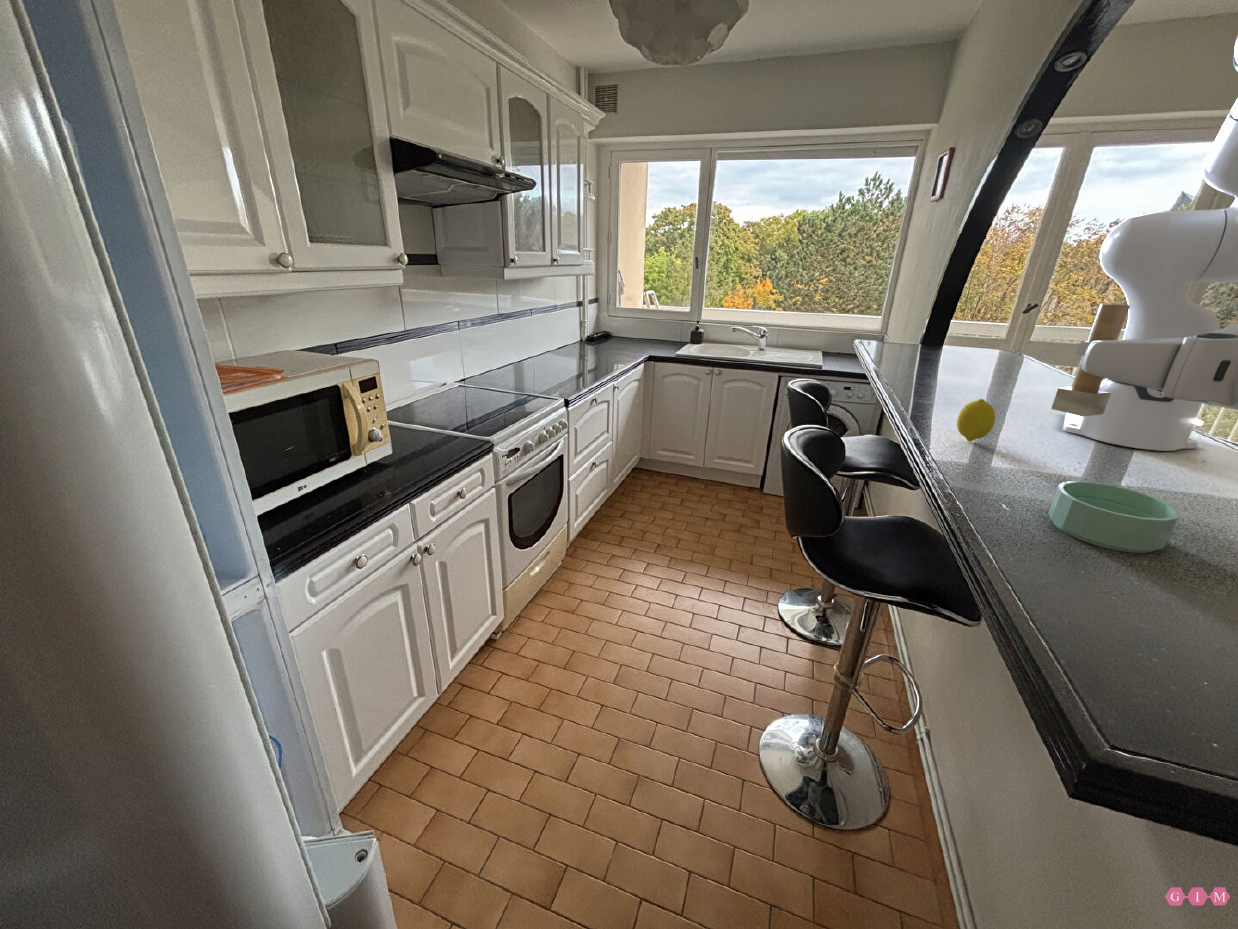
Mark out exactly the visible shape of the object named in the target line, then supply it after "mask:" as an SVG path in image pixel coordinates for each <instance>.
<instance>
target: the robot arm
mask: <svg viewBox="0 0 1238 929" xmlns="http://www.w3.org/2000/svg"><path fill="white" fill-rule="evenodd" d="M1232 60H1233V61H1232V63H1233V67H1234V68H1235V70H1236V71H1237V72H1238V35H1237V36H1236V40H1235V44H1234V52H1233V58H1232ZM1201 174H1202V177H1203V180H1204V181H1205V182H1206V183H1207V185H1209V186H1211V187H1212V188H1213V189H1215V190H1217V191H1220V192H1222V193H1224V194H1226V195H1229V196H1232V197H1234V198H1235V199H1234V201H1233V203H1232V204H1231V205H1230V206H1229V207H1226V208H1221V209H1196V210H1195V209H1193V210H1192V209H1191V210H1190V209H1189V210H1188V209H1187V210H1163V211H1157V212H1150V213H1145V214H1141V215H1135V216H1129V217H1127V218H1125V219H1123V221H1121V222H1120V223H1118V224H1117V225H1116V226H1115V227H1114V228H1113V229H1112V230H1111V231H1110V232H1109V233H1108V235H1107V236H1106V238H1104V241H1103V242H1102V245H1101V248H1100V251H1099V262H1100V266H1101V268H1102V270H1103V271H1104V272H1105V273H1106V274H1107V276H1108V277H1110V278H1112V279H1113V281H1114V282H1116V283H1117V284H1118V286H1119V287H1120V288H1121V290H1122V292H1123V294H1124V296H1125V298H1126V302H1127V305H1130V308H1129V311H1128V315H1127V323H1126V327H1125V330H1124V335H1123V338H1122V339H1118V340H1100V341H1093V342H1092V341H1088V340H1087V341H1086V340H1085V341H1084V340H1083V341H1081V342H1079V343H1078V346H1077V349H1076V351H1075V352H1076V355H1077V356H1079V357H1082V356H1085V357H1084V360H1083V363H1082V367H1081V368H1082V370H1083V371H1085V372H1087V373H1089V374H1092V375H1095V376H1099V377H1103V380H1102V383H1101V386H1100V388H1099V390H1100V391H1105V392H1111V395H1110V397H1109V400H1108V402H1107V405H1106V408H1105V410H1104V413H1103V414H1102V415H1093V416H1084V417H1083V416H1079V415H1075V414H1070V413H1066V412H1065V413H1066V414H1065V415H1064V420H1063V425H1062V431H1064V432H1068V433H1072V434H1074V435H1075V434H1076V435H1080V436H1083V437H1087V438H1090V439H1093V440H1096V441H1100V442H1104V443H1106V444H1107V443H1108V444H1112V445H1117V446H1121V447H1127V448H1134V449H1140V450H1147V451H1148V450H1149V451H1163V452H1165V451H1166V452H1171V451H1173V452H1174V451H1179V450H1182V449H1197V446H1198V442H1197V441H1196V440H1193V439H1191V438H1190V437H1191V435H1192V433H1193V432H1192V431H1193V429H1194V427H1195V426H1198V427H1202V426H1203V424H1204V421H1203V420H1201V419H1198V415H1199V413H1200V410H1201V407H1202V404H1203V405H1208V406H1213V407H1219V408H1225V409H1231V410H1236V411H1238V322H1235V323H1231V324H1228V325H1227V326H1225V327H1223V328H1221V329H1220V327H1221V326H1220V324H1221V323H1220V320H1219V318H1218V317H1217V315H1216V314H1214V313H1213V312H1212V311H1211V310H1209V309H1207V308H1206V307H1203V306H1202V305H1200V304H1198V303H1195V302H1193V301H1191V300H1189V298H1188V295H1187V287H1188V284H1189V283H1227V284H1228V283H1231V284H1238V97H1237V98H1236V100H1235V102H1234V104H1233V106H1232V107H1231V109H1230V111H1229V113H1228V115H1227V116H1226V119H1225V121H1224V122H1223V124H1222V125H1221V128H1220V130H1219V132H1218V134H1217V135H1216V137H1215V140H1214V141H1213V143H1212V145H1211V147H1210V149H1209V150H1208V153H1207V154H1206V156H1205V158H1204V159H1203V162H1202V166H1201Z"/></svg>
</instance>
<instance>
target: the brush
mask: <svg viewBox="0 0 1238 929" xmlns="http://www.w3.org/2000/svg"><path fill="white" fill-rule="evenodd" d="M1129 308H1130V305H1128V304H1124V303H1123V304H1122V303H1100V304H1099V307H1098V310H1097V314H1096V316H1095V318H1094V322H1093V324H1092V327H1091V331H1090V333H1089V336H1088V339H1087V341H1092V342H1093V341H1100V340H1119V338H1120V334H1121V332H1122V329H1123V327H1124V323H1125V321H1126V319H1127V317H1128V314H1129ZM1084 357H1085V356H1081V359H1080V361H1079V365H1078V366H1077V369H1076V372H1075V376H1074V378H1073V381H1072V384H1071V386H1064V387H1063V386H1062V387H1058V388H1057V390H1056V393H1055V396H1054V399H1053V402H1052V404H1051V408H1050V409H1051V410H1053V411H1058V412H1062V413H1070V414H1075V415H1079V416H1083V417H1084V416H1093V415H1102V414H1103V413H1104V410H1105V408H1106V405H1107V402H1108V400H1109V397H1110V395H1111V392H1105V391H1100V390H1099V388H1100V386H1101V383H1102V381H1103V380H1104V378H1103V377H1099V376H1095V375H1092V374H1089V373H1087V372H1085V371H1083V370H1082V368H1081V367H1082V363H1083V360H1084Z"/></svg>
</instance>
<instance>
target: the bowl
mask: <svg viewBox="0 0 1238 929" xmlns="http://www.w3.org/2000/svg"><path fill="white" fill-rule="evenodd" d="M1047 514H1048V516H1049V519H1050V521H1051V522H1052V524H1053V525H1054V526H1055V527H1056V528H1057V529H1059V530H1060V531H1061V532H1063V533H1065V534H1067V535H1069V536H1071V537H1073V538H1075V539H1077V540H1080V541H1083V542H1085V543H1088V544H1090V545H1094V546H1097V547H1101V548H1105V549H1108V550H1113V551H1119V552H1124V553H1132V554H1148V553H1152V552H1155V551H1158V550H1163V549H1165V547H1166V545H1167V543H1168V541H1169V539H1170V537H1171V535H1172V533H1173V530H1174V529H1175V526H1176V524H1177V523H1178V520H1179V518H1180V516H1181V512H1180V511H1179V510H1178V509H1177V508H1176V507H1175V506H1174V505H1172V504H1171V503H1168V502H1166V501H1165V500H1162V499H1160V498H1159V497H1155V496H1153V495H1150V494H1147V493H1144V492H1141V491H1138V490H1134V489H1131V488H1127V487H1122V486H1119V485H1116V484H1115V485H1114V484H1109V483H1102V482H1097V481H1086V480H1070V481H1063V482H1061V483H1060V484H1059V485H1057V489H1056V491H1055V494H1054V496H1053V498H1052V502H1051V504H1050V507H1049V510H1048V513H1047Z"/></svg>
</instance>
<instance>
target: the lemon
mask: <svg viewBox="0 0 1238 929" xmlns="http://www.w3.org/2000/svg"><path fill="white" fill-rule="evenodd" d="M995 422H996V412H995V409H994V407H993V406H992V405H991V404H990V403H989V402H987V401H986V400H985V399H983V398H979V399H977V400H972V401H970V402H968V403H967V404H965V405H964V406H963V407H962V408H961V410H960V412H959V413H958V415H957V419H956V428H957V431H958V432H959V434H960V435H961V436H962V437H964V438H965V439H966V441H968V442H973V441H975V440H978V439H981V438H985V437H986V436H988V435H989V434H990V432H991V431H992V429H993V428H994V425H995Z"/></svg>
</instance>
